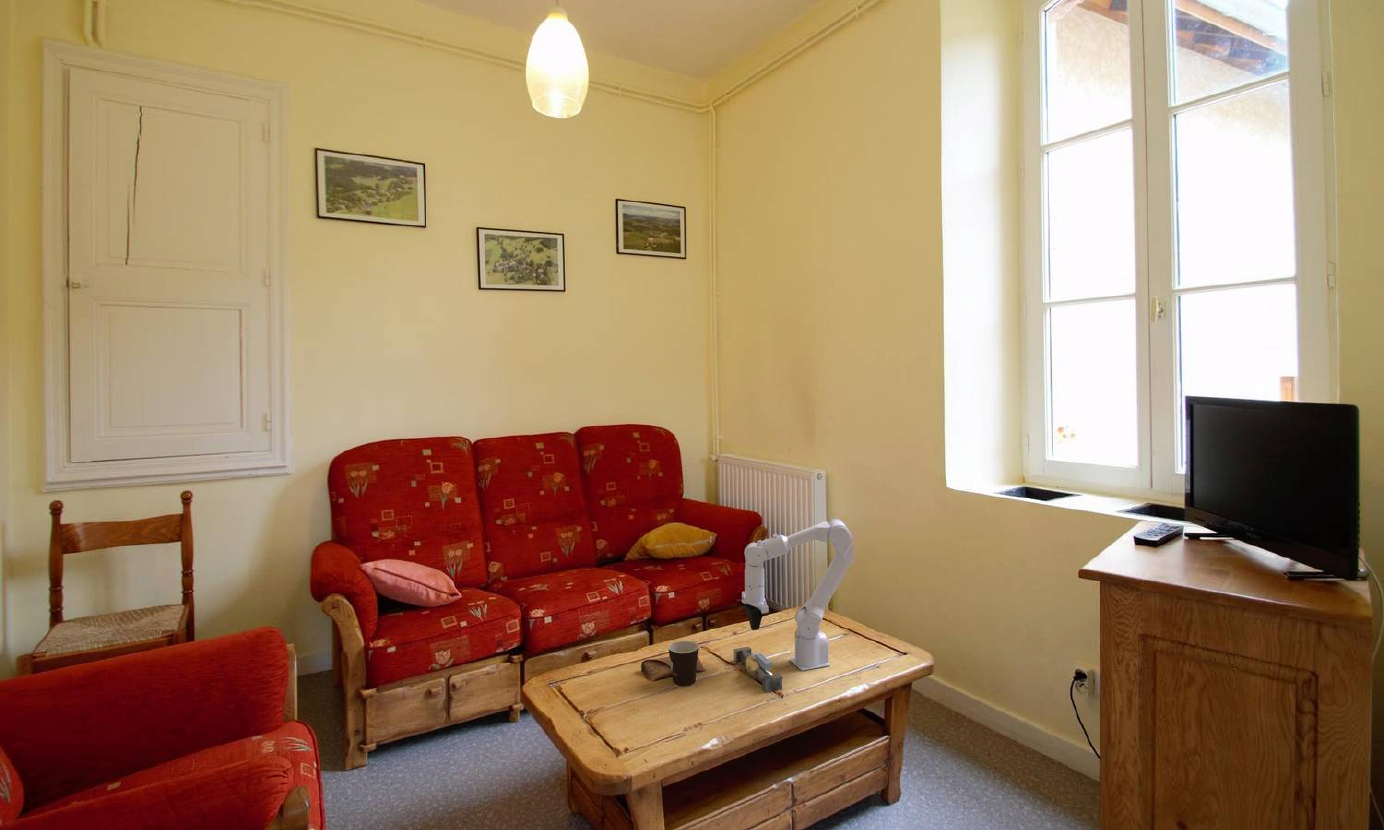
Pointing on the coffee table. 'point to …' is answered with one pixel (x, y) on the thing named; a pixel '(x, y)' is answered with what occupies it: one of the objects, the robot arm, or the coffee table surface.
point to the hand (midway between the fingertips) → (755, 629)
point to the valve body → (757, 670)
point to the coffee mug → (683, 662)
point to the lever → (762, 660)
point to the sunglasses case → (661, 668)
